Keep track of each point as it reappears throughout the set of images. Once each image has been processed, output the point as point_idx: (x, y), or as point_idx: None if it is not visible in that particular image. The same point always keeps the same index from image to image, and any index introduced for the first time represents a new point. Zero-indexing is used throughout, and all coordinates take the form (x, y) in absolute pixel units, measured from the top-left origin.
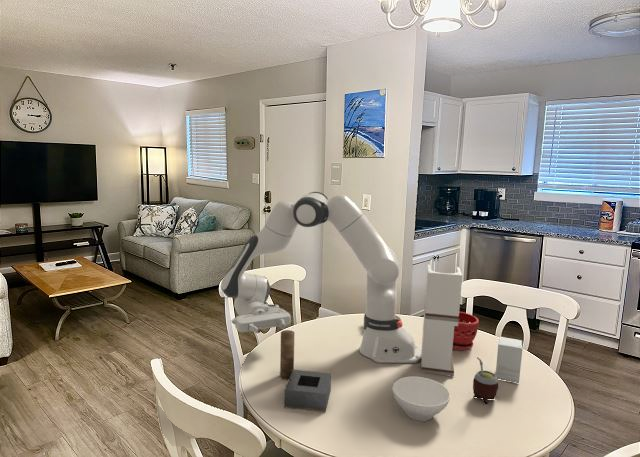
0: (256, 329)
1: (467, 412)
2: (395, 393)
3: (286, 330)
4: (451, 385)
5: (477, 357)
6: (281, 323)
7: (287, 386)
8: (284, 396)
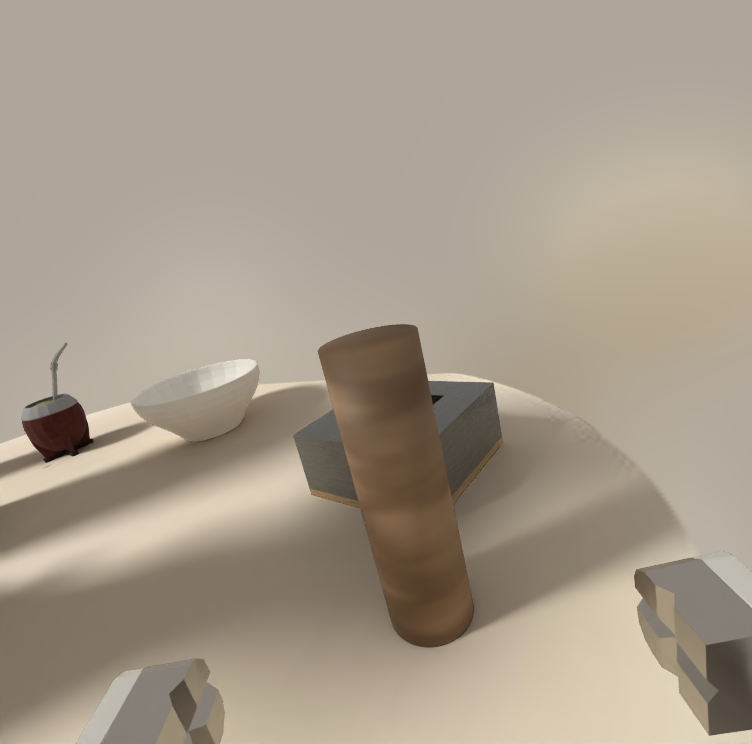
0: (724, 561)
1: (146, 429)
2: (249, 371)
3: (354, 352)
4: (36, 486)
5: (65, 343)
6: (151, 711)
7: (479, 390)
8: (496, 406)
